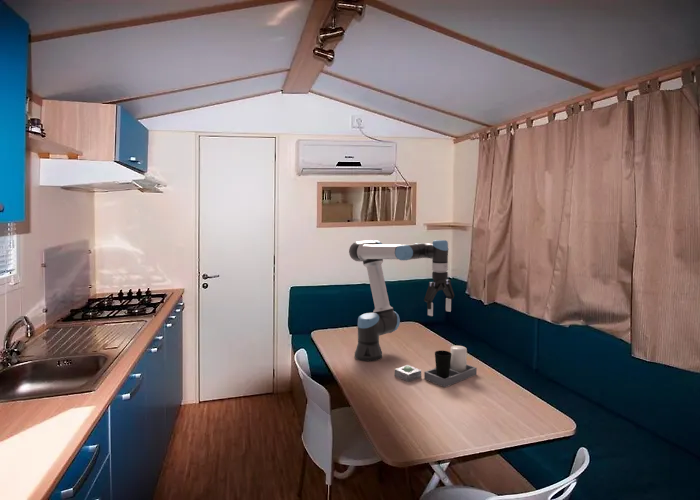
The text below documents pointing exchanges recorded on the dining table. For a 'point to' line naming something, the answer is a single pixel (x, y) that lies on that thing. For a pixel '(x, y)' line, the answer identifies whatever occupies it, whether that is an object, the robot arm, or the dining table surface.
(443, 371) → the cup
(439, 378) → the grey divided tray
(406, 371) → the button
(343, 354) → the dining table surface
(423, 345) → the dining table surface
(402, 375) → the grey square socket block
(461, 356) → the billet
